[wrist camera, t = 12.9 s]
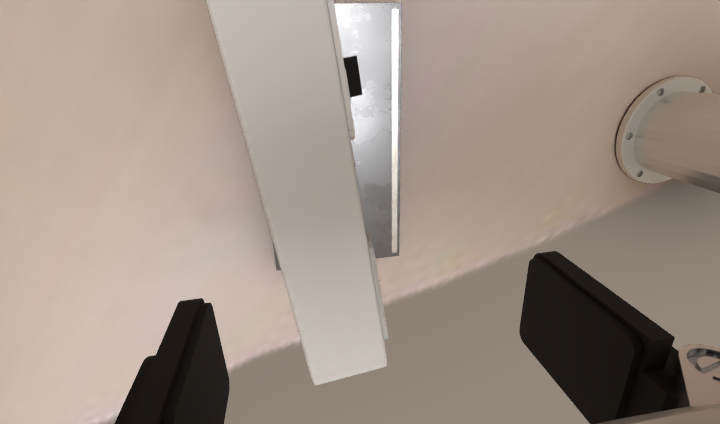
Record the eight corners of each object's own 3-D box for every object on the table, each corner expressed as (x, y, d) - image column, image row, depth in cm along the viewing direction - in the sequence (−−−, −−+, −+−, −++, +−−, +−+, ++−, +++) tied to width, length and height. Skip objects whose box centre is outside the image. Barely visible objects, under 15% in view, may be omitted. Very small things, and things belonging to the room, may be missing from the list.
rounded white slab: (369, 255, 44) (422, 374, 28) (303, 271, 44) (317, 403, 27) (321, -34, 33) (361, -120, 16) (230, -21, 32) (177, -97, 16)
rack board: (397, 4, 36) (401, 2, 35) (396, 250, 46) (399, 255, 45) (243, 6, 34) (241, 4, 33) (276, 264, 44) (276, 270, 43)
